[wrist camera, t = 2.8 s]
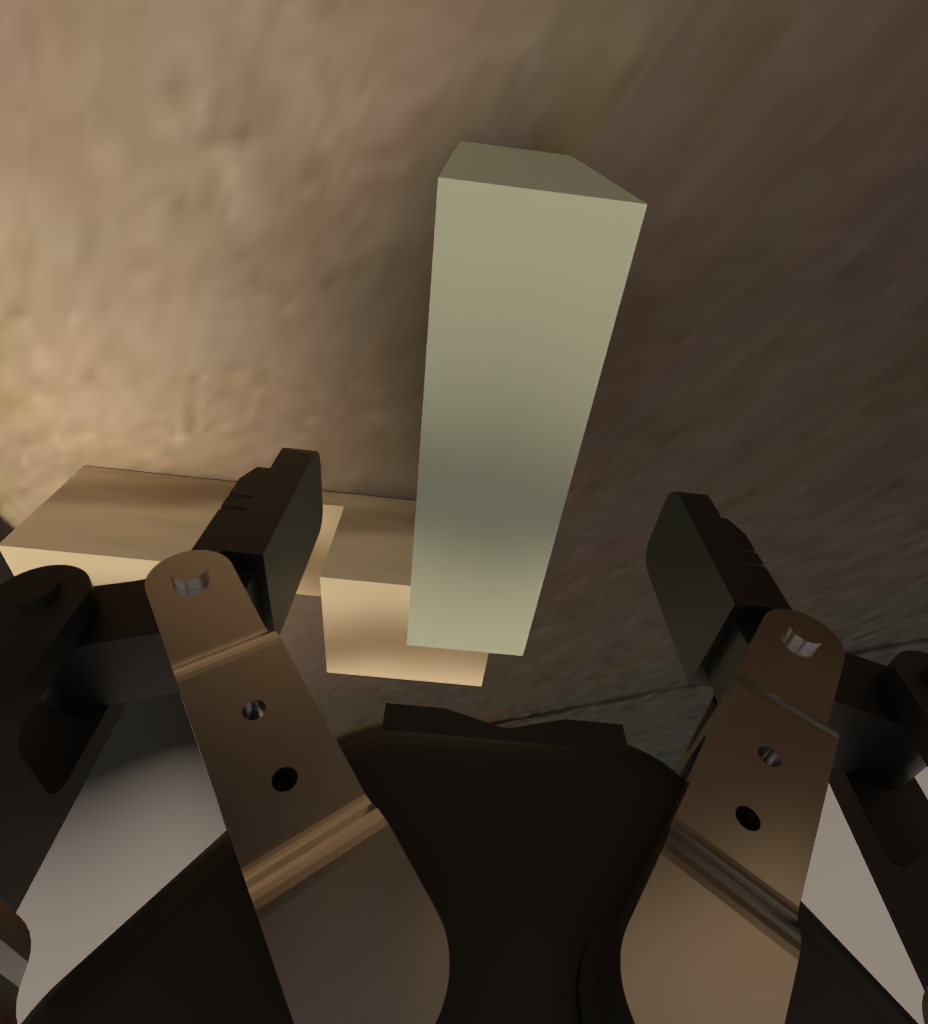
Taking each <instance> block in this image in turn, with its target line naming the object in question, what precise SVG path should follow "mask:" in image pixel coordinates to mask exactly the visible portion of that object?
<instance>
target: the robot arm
mask: <svg viewBox="0 0 928 1024" xmlns="http://www.w3.org/2000/svg"><path fill="white" fill-rule="evenodd" d="M322 517H323V501H322V483H321V465H320V456H319V453H318V452H317V451H310V450H301V449H292V448H283V449H282V450H281V451H280V453H279V455H278V456H277V458H276V460H275V461H274V463H273V465H272V466H271V468H262V467H256V468H255V469H253V470H252V471H250V472H249V473H247V474H246V475H244V476H243V477H241V478H240V479H239V480H238V481H237V483H236V484H235V486H234V487H233V489H232V490H231V492H230V493H229V497H227V498H226V499H225V501H224V502H223V503H222V505H221V509H218V511H217V512H216V514H215V515H214V517H213V518H212V520H211V521H210V523H209V524H208V526H207V527H206V529H205V530H204V532H203V533H202V535H201V536H200V538H199V539H198V541H197V542H196V544H195V545H194V547H193V548H192V550H191V551H186V552H182V553H178V554H176V555H173V556H171V557H168V558H166V559H165V560H163V561H161V562H160V563H158V564H157V565H156V566H155V567H154V568H153V569H152V570H151V571H150V572H149V574H148V575H147V577H146V579H143V580H137V581H130V582H122V583H114V584H106V585H98V586H93V584H92V582H91V580H90V577H89V576H88V574H87V573H86V572H85V571H84V570H82V569H80V568H78V567H74V566H70V565H49V566H43V567H38V568H35V569H31V570H28V571H26V572H23V573H21V574H18V575H16V576H14V577H13V578H11V579H9V580H7V581H6V582H4V583H3V584H2V585H0V1024H17V1018H16V1000H17V995H18V991H19V986H20V984H21V981H22V978H23V975H24V972H25V970H26V967H27V964H28V960H29V956H30V951H31V939H30V932H29V930H28V927H27V925H26V923H25V922H24V921H23V920H22V918H20V917H19V916H18V915H17V914H16V911H17V909H18V908H19V906H20V904H21V902H22V900H23V898H24V896H25V894H26V892H27V891H28V889H29V887H30V885H31V883H32V881H33V879H34V877H35V876H36V874H37V871H38V870H39V868H40V866H41V864H42V862H43V860H44V859H45V857H46V855H47V853H48V851H49V849H50V847H51V845H52V844H53V842H54V840H55V838H56V836H57V834H58V832H59V830H60V828H61V827H62V825H63V823H64V821H65V819H66V817H67V815H68V813H69V812H70V810H71V808H72V806H73V804H74V802H75V800H76V798H77V797H78V794H79V793H80V791H81V789H82V787H83V785H84V783H85V781H86V780H87V778H88V776H89V774H90V772H91V770H92V768H93V766H94V765H95V763H96V761H97V759H98V757H99V755H100V753H101V751H102V749H103V748H104V746H105V744H106V742H107V740H108V738H109V736H110V734H111V733H112V731H113V729H114V727H115V725H116V723H117V721H118V719H119V717H120V716H121V714H122V712H123V710H124V708H125V706H126V704H127V702H128V701H133V700H139V699H143V698H149V697H155V696H160V695H165V694H170V693H176V692H180V694H181V697H182V700H183V703H184V706H185V709H186V712H187V715H188V718H189V721H190V724H191V726H192V729H193V732H194V735H195V738H196V741H197V744H198V747H199V750H200V753H201V755H202V759H203V762H204V765H205V767H206V770H207V773H208V776H209V779H210V782H211V785H212V788H213V791H214V794H215V797H216V800H217V803H218V805H219V809H220V812H221V814H222V817H223V820H224V823H225V826H226V829H227V830H226V831H225V832H224V833H223V834H222V835H221V836H220V837H219V838H218V839H217V840H215V841H214V842H213V843H212V844H211V845H210V846H209V847H208V848H207V849H205V850H204V851H203V852H202V853H201V854H200V855H199V856H198V857H197V858H196V859H195V860H193V861H192V862H191V863H190V864H189V865H188V866H187V867H186V868H185V869H183V870H182V871H181V872H180V873H179V874H178V875H177V876H176V877H175V878H173V879H172V880H171V881H170V882H169V883H168V884H167V885H166V886H165V887H164V888H162V889H161V890H160V891H159V892H158V893H157V894H156V895H155V896H154V897H152V898H151V899H150V900H149V901H148V902H147V903H146V904H145V905H144V906H143V907H141V908H140V910H138V911H137V912H136V913H135V914H134V915H133V916H131V917H130V918H129V919H128V920H127V921H126V922H125V923H124V924H123V925H122V926H120V927H119V928H118V929H117V930H116V931H115V932H114V933H113V934H112V935H111V936H109V937H108V938H107V939H106V940H105V941H104V942H103V943H102V944H101V945H99V946H98V947H97V949H95V950H94V951H93V952H92V953H91V954H89V955H88V956H87V957H86V958H85V959H84V960H83V961H82V962H81V963H80V964H78V965H77V966H76V967H75V968H74V969H73V970H72V971H71V972H70V973H68V975H66V976H65V977H64V978H63V979H62V980H61V981H60V982H59V983H58V984H56V985H55V986H54V987H53V988H52V989H51V990H50V991H49V992H48V993H47V994H46V995H45V997H44V998H42V1000H41V1001H40V1002H39V1003H38V1004H37V1005H36V1006H35V1008H34V1009H33V1010H32V1011H31V1012H30V1013H29V1015H28V1016H27V1017H26V1018H25V1020H24V1021H23V1022H22V1023H21V1024H918V1023H917V1022H916V1021H915V1020H914V1019H913V1018H912V1017H911V1016H910V1014H909V1013H907V1011H906V1010H905V1009H904V1008H903V1007H902V1006H901V1005H900V1004H899V1003H898V1002H897V1001H896V1000H895V999H894V998H893V997H892V996H891V995H890V994H889V993H888V991H886V989H885V988H884V987H882V985H881V984H880V983H879V982H878V981H877V980H876V979H875V978H874V977H873V976H872V975H871V974H870V973H869V972H868V971H867V970H866V968H865V967H864V966H863V965H862V964H861V963H860V962H859V961H858V960H857V959H856V958H855V957H854V956H853V955H852V954H851V953H850V952H849V951H848V950H847V949H846V947H844V945H843V944H842V943H841V942H840V941H839V940H838V939H837V938H836V937H835V936H834V935H833V934H832V933H831V932H830V931H829V930H828V929H827V928H826V927H825V926H824V925H823V923H822V922H821V921H820V920H819V919H818V918H817V917H816V916H815V915H814V914H813V913H812V912H811V911H810V910H809V909H808V908H807V907H806V906H805V905H804V904H803V902H802V901H801V897H802V893H803V889H804V884H805V880H806V876H807V872H808V868H809V863H810V859H811V855H812V850H813V846H814V842H815V838H816V834H817V829H818V825H819V821H820V817H821V812H822V808H823V804H824V800H825V795H826V791H827V787H828V783H829V784H830V786H831V788H832V790H833V792H834V795H835V797H836V799H837V801H838V803H839V805H840V807H841V810H842V812H843V814H844V816H845V819H846V821H847V823H848V825H849V827H850V829H851V832H852V834H853V836H854V838H855V840H856V842H857V844H858V847H859V849H860V851H861V853H862V856H863V858H864V860H865V862H866V864H867V866H868V869H869V871H870V873H871V875H872V877H873V879H874V882H875V884H876V886H877V888H878V890H879V893H880V895H881V896H882V899H883V901H884V903H885V905H886V908H887V910H888V912H889V914H890V917H891V919H892V921H893V923H894V925H895V927H896V929H897V932H898V934H899V936H900V938H901V940H902V943H903V945H904V947H905V949H906V951H907V953H908V956H909V958H910V960H911V962H912V964H913V967H914V969H915V971H916V973H917V975H918V977H919V979H920V982H921V984H922V986H923V988H924V990H925V993H924V995H923V1001H922V1011H923V1018H924V1023H925V1024H928V800H927V798H926V796H925V795H924V793H923V791H922V789H921V788H920V786H919V784H918V783H917V781H916V779H915V776H916V775H917V774H918V773H919V772H921V771H922V770H923V769H924V768H925V767H928V653H924V652H920V651H904V652H901V653H899V654H898V655H897V656H896V657H895V658H894V659H893V660H892V661H891V662H890V663H889V665H888V666H885V665H882V664H879V663H876V662H873V661H870V660H867V659H864V658H861V657H858V656H855V655H852V654H849V653H847V652H845V650H844V648H843V645H842V644H841V642H840V640H839V639H838V638H837V637H836V635H835V634H834V633H833V632H832V631H831V630H830V629H829V628H827V627H826V626H825V625H824V624H822V623H821V622H819V621H818V620H816V619H814V618H812V617H810V616H808V615H806V614H804V613H801V612H798V611H794V610H792V609H791V607H790V606H789V604H788V603H787V601H786V599H785V598H784V596H783V595H782V593H781V591H780V590H779V588H778V586H777V585H776V583H775V582H774V580H773V578H772V577H771V575H770V574H769V572H768V570H767V569H766V567H763V562H762V561H761V559H760V558H759V556H758V554H757V553H755V549H754V548H753V546H752V545H751V543H750V541H749V540H748V538H747V537H746V535H745V534H744V533H743V532H742V531H741V530H740V529H739V528H737V527H736V526H735V525H734V524H733V523H732V522H730V521H729V520H728V519H725V518H721V516H720V515H719V513H718V511H717V509H716V508H715V506H714V504H713V503H712V501H711V499H710V498H709V497H708V496H707V495H703V494H693V493H684V492H675V491H674V492H671V493H670V494H669V495H668V497H667V499H666V501H665V503H664V506H663V508H662V511H661V513H660V516H659V518H658V520H657V523H656V525H655V528H654V530H653V533H652V535H651V538H650V540H649V543H648V546H647V551H646V566H647V570H648V573H649V576H650V578H651V581H652V584H653V587H654V590H655V592H656V595H657V598H658V601H659V603H660V606H661V609H662V612H663V615H664V617H665V620H666V623H667V626H668V629H669V631H670V634H671V637H672V640H673V643H674V645H675V648H676V651H677V654H678V656H679V659H680V662H681V665H682V668H683V670H684V673H685V676H686V679H687V682H688V684H693V685H703V686H711V687H712V690H713V692H714V695H713V697H712V698H711V700H710V701H709V703H708V704H707V706H706V708H705V710H704V712H703V714H702V716H701V718H700V720H699V722H698V724H697V726H696V728H695V730H694V732H693V734H692V736H691V738H690V740H689V742H688V744H687V746H686V748H685V750H684V752H683V754H682V756H681V758H680V760H679V762H678V764H677V766H676V768H675V770H672V769H671V768H670V767H668V766H667V765H665V764H664V763H663V762H661V761H660V760H658V759H656V758H654V757H653V756H651V755H649V754H648V753H646V752H643V751H641V750H639V749H637V748H635V747H632V746H630V745H627V743H626V738H625V734H624V729H623V725H621V724H610V723H599V722H588V721H577V720H566V719H565V720H558V721H552V722H546V723H540V724H533V725H527V726H521V727H514V728H503V727H499V726H496V725H493V724H490V723H487V722H484V721H481V720H478V719H475V718H472V717H469V716H466V715H463V714H460V713H457V712H454V711H451V710H448V709H445V708H434V707H424V706H413V705H402V704H391V703H386V707H385V713H384V719H383V722H377V723H371V724H368V725H364V726H361V727H357V728H355V729H352V730H350V731H348V732H345V733H343V734H341V735H339V736H337V737H334V735H333V733H332V732H331V730H330V728H329V726H328V724H327V722H326V721H325V719H324V717H323V715H322V713H321V711H320V709H319V708H318V706H317V704H316V702H315V700H314V698H313V697H312V695H311V693H310V691H309V689H308V687H307V685H306V684H305V682H304V680H303V678H302V676H301V674H300V673H299V671H298V669H297V667H296V665H295V663H294V661H293V660H292V658H291V656H290V654H289V652H288V650H287V649H286V647H285V645H284V643H283V641H282V639H281V638H280V636H279V635H280V633H281V630H282V628H283V625H284V622H285V620H286V617H287V615H288V612H289V610H290V607H291V605H292V602H293V600H294V597H295V594H296V592H297V589H298V587H299V584H300V582H301V579H302V577H303V574H304V571H305V569H306V566H307V564H308V561H309V559H310V556H311V554H312V551H313V549H314V546H315V543H316V541H317V538H318V536H319V533H320V529H321V524H322Z"/></svg>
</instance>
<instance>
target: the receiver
mask: <svg viewBox="0 0 928 1024" xmlns="http://www.w3.org/2000/svg"><path fill="white" fill-rule="evenodd" d="M236 483H237V482H232V481H222V480H213V479H203V478H193V477H184V476H174V475H165V474H155V473H146V472H136V471H127V470H117V469H108V468H98V467H88V466H84V467H82V468H81V469H80V470H79V471H78V472H77V473H76V474H75V475H74V476H73V477H72V478H70V479H69V480H68V481H67V482H66V483H65V484H64V485H63V486H62V487H61V488H60V489H58V490H57V491H56V492H55V493H54V494H53V495H52V496H51V497H50V498H49V499H47V500H46V501H45V502H44V503H43V504H42V505H41V506H40V507H39V508H38V509H37V510H35V511H34V512H33V513H32V514H31V515H30V516H29V517H28V518H27V519H26V520H25V521H23V522H22V523H21V524H20V525H19V526H18V527H17V528H16V529H15V530H14V531H13V532H11V533H10V534H9V535H8V536H7V537H6V538H5V539H4V540H3V541H2V542H1V543H0V551H1V553H2V554H3V556H4V558H5V560H6V562H7V564H8V565H9V567H10V569H11V571H12V573H13V574H14V576H16V575H18V574H21V573H23V572H26V571H28V570H31V569H35V568H38V567H43V566H49V565H70V566H74V567H78V568H80V569H82V570H84V571H85V572H86V573H87V574H88V576H89V577H90V580H91V582H92V584H93V586H98V585H106V584H114V583H122V582H130V581H137V580H143V579H146V577H147V575H148V574H149V572H150V571H151V570H152V569H153V568H154V567H155V566H156V565H157V564H158V563H160V562H161V561H163V560H165V559H166V558H168V557H171V556H173V555H176V554H178V553H182V552H186V551H191V550H192V548H193V547H194V545H195V544H196V542H197V541H198V539H199V538H200V536H201V535H202V533H203V532H204V530H205V529H206V527H207V526H208V524H209V523H210V521H211V520H212V518H213V517H214V515H215V514H216V512H217V511H218V509H221V505H222V503H223V502H224V501H225V499H226V498H227V497H229V493H230V492H231V490H232V489H233V487H234V486H235V484H236ZM322 501H323V517H322V524H321V529H320V533H319V536H318V538H317V541H316V543H315V546H314V549H313V551H312V554H311V556H310V559H309V561H308V564H307V566H306V569H305V571H304V574H303V577H302V579H301V582H300V584H299V587H298V589H297V592H296V594H302V595H312V596H321V598H322V612H323V625H324V638H325V651H326V664H327V672H330V673H341V674H352V675H363V676H374V677H385V678H396V679H407V680H418V681H429V682H440V683H451V684H462V685H473V686H482V681H483V676H484V672H485V667H486V662H487V658H488V653H486V652H475V651H465V650H454V649H443V648H433V647H422V646H411V645H407V633H408V618H409V603H410V589H411V574H412V559H413V544H414V529H415V514H416V501H413V500H403V499H394V498H384V497H375V496H365V495H356V494H346V493H337V492H327V491H322Z"/></svg>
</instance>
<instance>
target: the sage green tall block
mask: <svg viewBox="0 0 928 1024" xmlns="http://www.w3.org/2000/svg"><path fill="white" fill-rule="evenodd" d="M646 208H647V204H646V203H645V202H643V201H642V200H640V199H638V198H637V197H635V196H634V195H632V194H631V193H629V192H627V191H626V190H624V189H623V188H621V187H620V186H618V185H617V184H615V183H613V182H612V181H610V180H609V179H607V178H606V177H604V176H602V175H601V174H599V173H598V172H596V171H595V170H593V169H591V168H590V167H588V166H587V165H585V164H584V163H582V162H581V161H579V160H577V159H576V158H574V157H573V156H571V155H564V154H556V153H548V152H541V151H533V150H526V149H518V148H511V147H503V146H496V145H488V144H481V143H473V142H466V141H460V142H459V143H458V145H457V147H456V148H455V150H454V152H453V153H452V155H451V157H450V158H449V160H448V162H447V163H446V165H445V167H444V168H443V170H442V172H441V173H440V175H439V177H438V187H437V202H436V217H435V231H434V246H433V261H432V276H431V291H430V306H429V321H428V336H427V350H426V365H425V380H424V395H423V410H422V425H421V440H420V455H419V469H418V484H417V499H416V514H415V529H414V544H413V559H412V574H411V589H410V603H409V618H408V633H407V645H411V646H422V647H433V648H443V649H454V650H465V651H475V652H486V653H497V654H508V655H518V656H523V653H524V649H525V646H526V642H527V638H528V635H529V631H530V628H531V624H532V620H533V617H534V613H535V609H536V606H537V602H538V599H539V595H540V591H541V588H542V584H543V581H544V577H545V573H546V570H547V566H548V562H549V559H550V555H551V552H552V548H553V544H554V541H555V537H556V533H557V530H558V526H559V523H560V519H561V515H562V512H563V508H564V505H565V501H566V497H567V494H568V490H569V486H570V483H571V479H572V476H573V472H574V468H575V465H576V461H577V457H578V454H579V450H580V447H581V443H582V439H583V436H584V432H585V428H586V425H587V421H588V418H589V414H590V410H591V407H592V403H593V400H594V396H595V392H596V389H597V385H598V381H599V378H600V374H601V371H602V367H603V363H604V360H605V356H606V352H607V349H608V345H609V342H610V338H611V334H612V331H613V327H614V324H615V320H616V316H617V313H618V309H619V305H620V302H621V298H622V295H623V291H624V287H625V284H626V280H627V276H628V273H629V269H630V266H631V262H632V258H633V255H634V251H635V248H636V244H637V240H638V237H639V233H640V229H641V226H642V222H643V219H644V215H645V211H646Z"/></svg>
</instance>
